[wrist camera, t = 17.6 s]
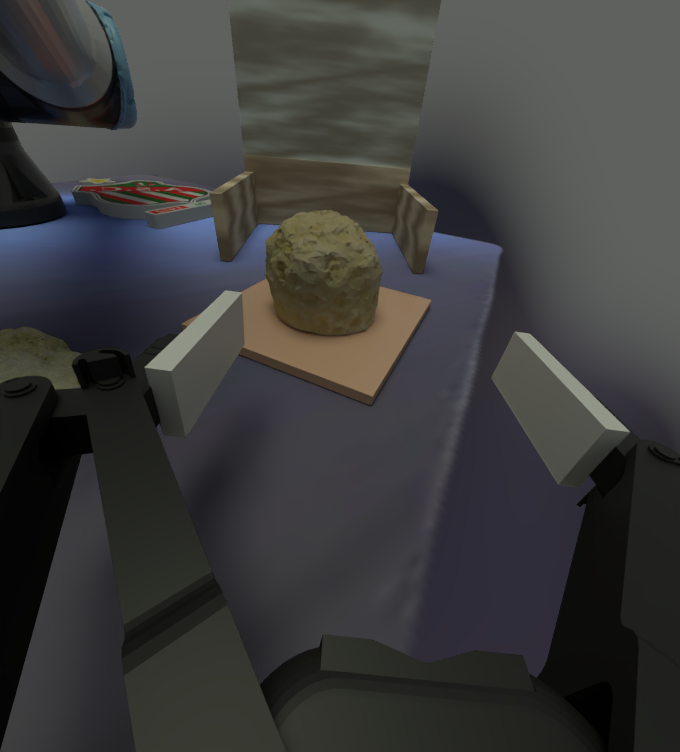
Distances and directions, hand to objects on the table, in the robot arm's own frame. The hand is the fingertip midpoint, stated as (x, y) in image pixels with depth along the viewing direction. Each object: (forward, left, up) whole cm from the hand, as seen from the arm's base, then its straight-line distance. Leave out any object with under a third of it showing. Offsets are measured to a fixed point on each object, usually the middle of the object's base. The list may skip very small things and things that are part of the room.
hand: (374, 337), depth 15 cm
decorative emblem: (-61, -5, -6) cm, 62 cm away
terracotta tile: (-12, +4, -6) cm, 13 cm away
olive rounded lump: (-11, +4, -5) cm, 13 cm away
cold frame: (-30, +14, -6) cm, 33 cm away
